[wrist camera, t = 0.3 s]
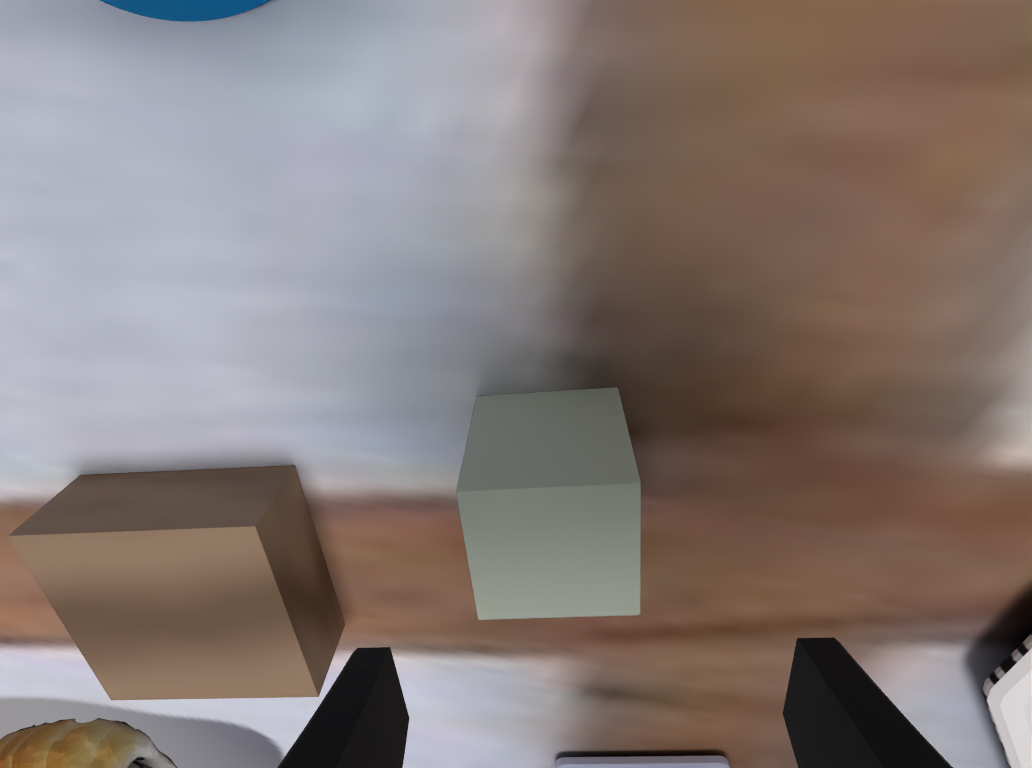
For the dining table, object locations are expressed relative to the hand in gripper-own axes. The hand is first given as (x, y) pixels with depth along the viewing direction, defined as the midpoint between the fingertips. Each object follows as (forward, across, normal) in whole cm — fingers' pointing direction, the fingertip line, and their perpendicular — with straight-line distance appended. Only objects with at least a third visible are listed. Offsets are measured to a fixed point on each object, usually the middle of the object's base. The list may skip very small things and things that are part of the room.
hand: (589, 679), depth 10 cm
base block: (+10, +14, +5) cm, 18 cm away
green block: (+10, +1, +1) cm, 10 cm away
